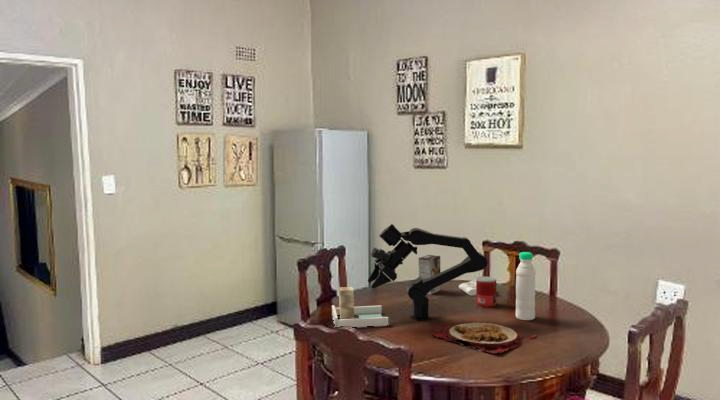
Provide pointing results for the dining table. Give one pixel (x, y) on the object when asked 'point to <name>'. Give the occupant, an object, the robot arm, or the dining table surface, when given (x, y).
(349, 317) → the beige cylinder
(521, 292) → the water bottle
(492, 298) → the canned food
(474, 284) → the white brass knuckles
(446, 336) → the plate with food
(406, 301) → the dining table surface
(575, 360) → the dining table surface
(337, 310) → the tray
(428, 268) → the coffee box
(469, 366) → the dining table surface
